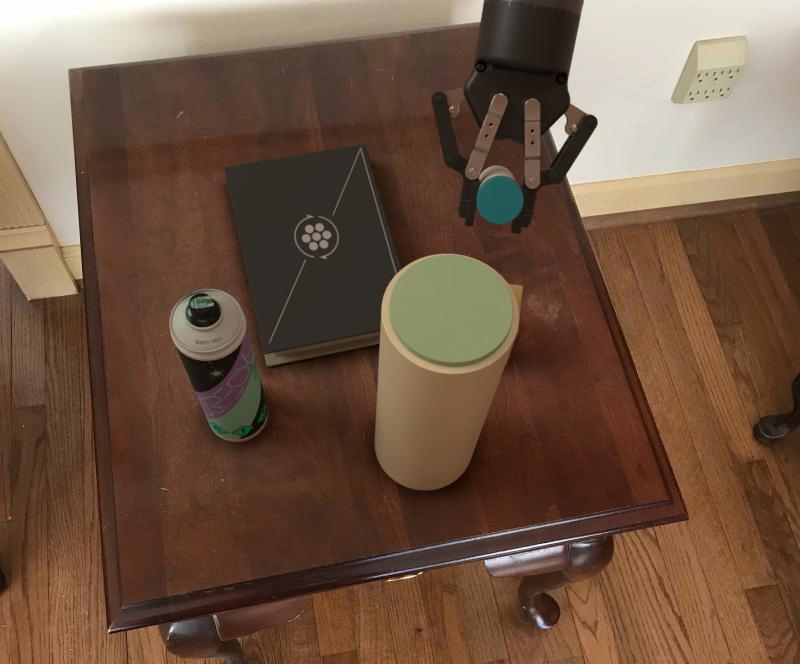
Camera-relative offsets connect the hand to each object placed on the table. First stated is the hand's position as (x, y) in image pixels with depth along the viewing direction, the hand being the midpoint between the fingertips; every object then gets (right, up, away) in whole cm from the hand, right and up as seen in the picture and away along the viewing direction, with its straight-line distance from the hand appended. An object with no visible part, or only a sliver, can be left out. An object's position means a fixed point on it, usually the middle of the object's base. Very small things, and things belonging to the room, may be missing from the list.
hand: (492, 227), depth 70 cm
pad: (-5, -9, -16) cm, 19 cm away
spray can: (-23, -16, +7) cm, 28 cm away
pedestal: (-6, -18, +6) cm, 20 cm away
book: (-16, 0, +14) cm, 21 cm away
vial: (0, +3, 0) cm, 3 cm away
